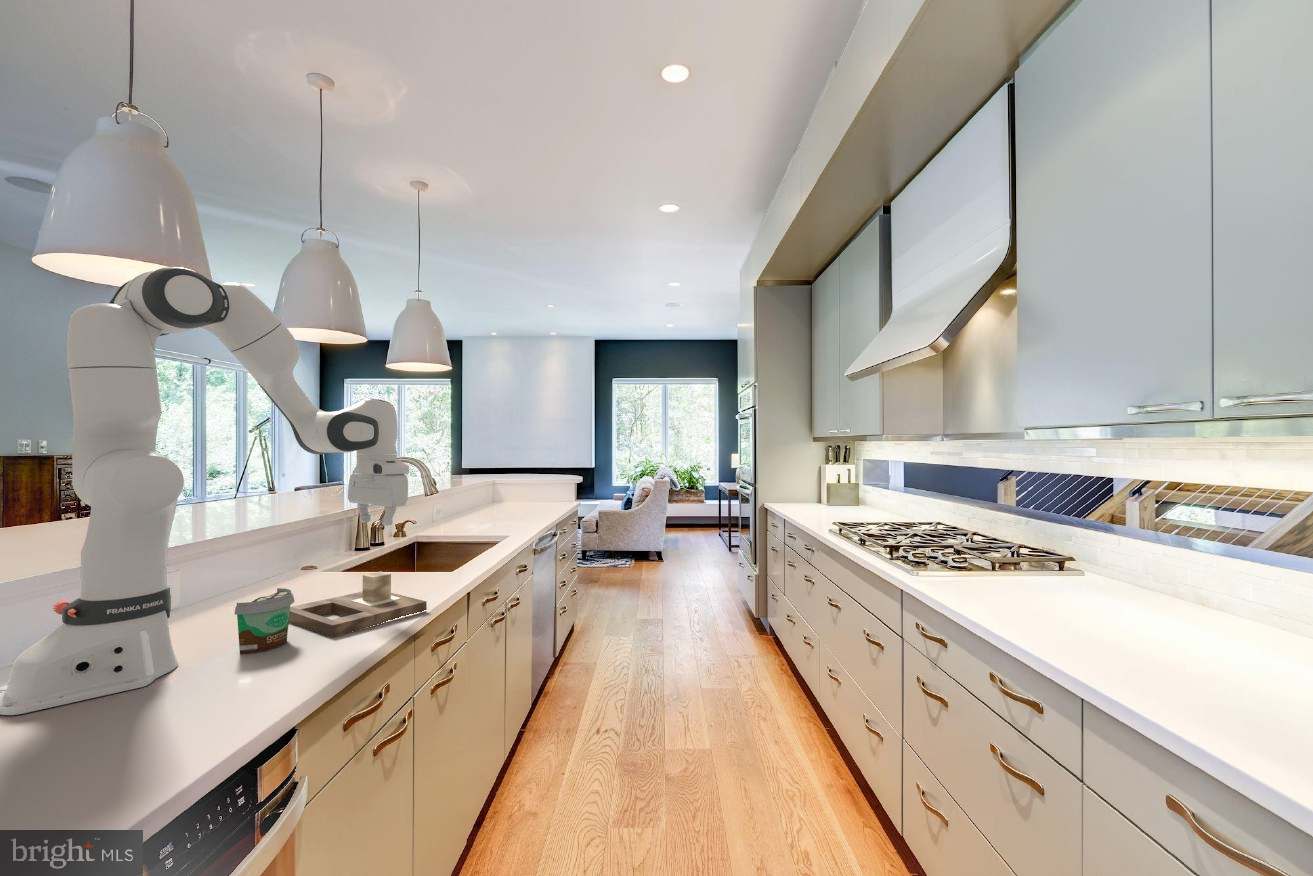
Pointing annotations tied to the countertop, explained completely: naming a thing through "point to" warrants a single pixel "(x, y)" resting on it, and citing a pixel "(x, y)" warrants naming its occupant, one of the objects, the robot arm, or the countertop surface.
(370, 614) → the pocket board
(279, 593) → the food container
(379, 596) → the ash block
